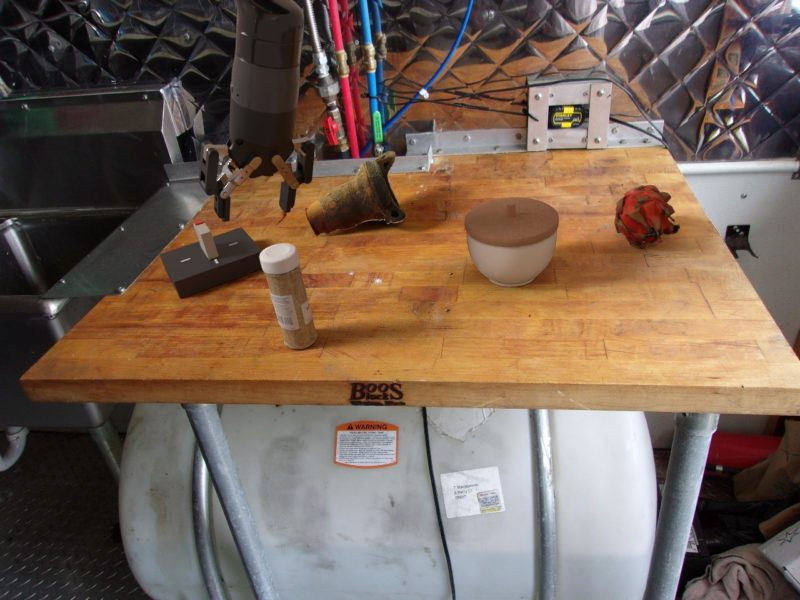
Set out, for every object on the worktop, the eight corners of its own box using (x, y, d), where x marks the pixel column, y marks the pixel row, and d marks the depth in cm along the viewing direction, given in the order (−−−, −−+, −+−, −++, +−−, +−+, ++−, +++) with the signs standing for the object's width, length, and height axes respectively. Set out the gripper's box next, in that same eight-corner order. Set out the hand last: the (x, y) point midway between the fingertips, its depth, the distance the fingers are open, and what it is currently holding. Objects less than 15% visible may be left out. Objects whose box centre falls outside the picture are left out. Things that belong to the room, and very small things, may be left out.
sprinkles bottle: (325, 338, 76) (304, 248, 69) (296, 355, 74) (272, 265, 66) (304, 325, 79) (282, 237, 72) (276, 341, 77) (251, 253, 69)
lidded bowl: (550, 302, 78) (553, 228, 71) (458, 293, 82) (453, 222, 75) (560, 254, 87) (564, 185, 81) (477, 249, 91) (474, 182, 85)
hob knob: (219, 256, 92) (210, 229, 89) (209, 260, 91) (200, 233, 89) (211, 244, 96) (202, 218, 93) (201, 248, 95) (192, 221, 93)
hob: (180, 298, 89) (173, 281, 87) (165, 269, 97) (158, 253, 95) (267, 267, 94) (262, 250, 92) (245, 242, 102) (241, 226, 100)
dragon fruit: (635, 226, 95) (651, 274, 86) (594, 202, 92) (606, 249, 84) (676, 188, 89) (698, 235, 81) (634, 162, 87) (651, 207, 78)
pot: (289, 169, 104) (381, 123, 101) (318, 209, 113) (403, 168, 110) (305, 236, 93) (407, 187, 91) (336, 274, 102) (429, 231, 100)
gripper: (216, 113, 61) (212, 238, 71) (334, 107, 69) (316, 221, 79) (191, 82, 65) (191, 205, 75) (305, 80, 73) (291, 192, 83)
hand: (255, 213), depth 77 cm, fingers open, 8 cm apart
